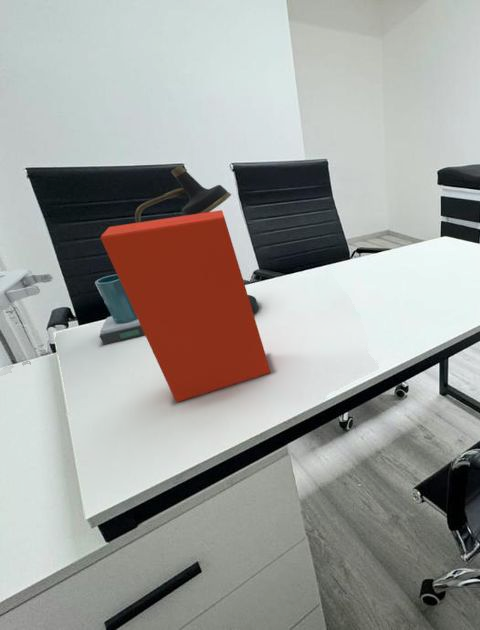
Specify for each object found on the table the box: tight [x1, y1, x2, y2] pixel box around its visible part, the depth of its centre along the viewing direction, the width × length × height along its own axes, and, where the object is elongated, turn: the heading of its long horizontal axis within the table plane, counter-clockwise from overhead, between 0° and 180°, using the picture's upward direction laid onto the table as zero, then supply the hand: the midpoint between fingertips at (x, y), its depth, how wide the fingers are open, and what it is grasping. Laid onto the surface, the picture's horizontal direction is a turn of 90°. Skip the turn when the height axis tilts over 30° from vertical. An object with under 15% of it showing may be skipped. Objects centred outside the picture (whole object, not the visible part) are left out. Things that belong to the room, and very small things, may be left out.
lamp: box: [134, 165, 260, 316], centre depth 97 cm, size 16×22×38 cm
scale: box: [99, 316, 145, 346], centre depth 101 cm, size 12×11×4 cm
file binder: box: [100, 209, 272, 403], centre depth 72 cm, size 8×17×32 cm, turn 118°
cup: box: [94, 273, 138, 324], centre depth 98 cm, size 6×6×11 cm
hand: (45, 282), depth 89 cm, fingers open, 8 cm apart
